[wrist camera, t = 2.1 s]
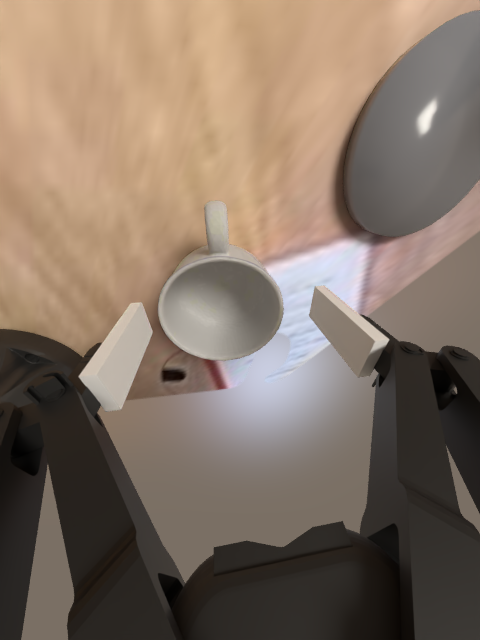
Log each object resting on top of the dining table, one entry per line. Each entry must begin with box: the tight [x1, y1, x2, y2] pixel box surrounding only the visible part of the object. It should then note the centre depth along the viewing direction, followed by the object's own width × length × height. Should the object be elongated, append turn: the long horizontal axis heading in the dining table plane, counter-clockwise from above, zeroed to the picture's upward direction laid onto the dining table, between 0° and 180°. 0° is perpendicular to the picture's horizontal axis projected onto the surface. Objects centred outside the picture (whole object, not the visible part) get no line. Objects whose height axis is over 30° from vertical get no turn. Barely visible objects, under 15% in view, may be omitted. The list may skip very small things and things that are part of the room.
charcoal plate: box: [343, 10, 480, 237], centre depth 18 cm, size 15×15×2 cm
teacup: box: [158, 201, 284, 361], centre depth 19 cm, size 14×11×8 cm
